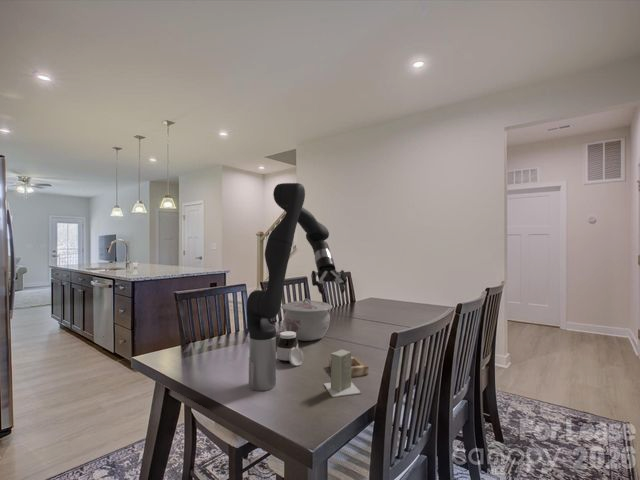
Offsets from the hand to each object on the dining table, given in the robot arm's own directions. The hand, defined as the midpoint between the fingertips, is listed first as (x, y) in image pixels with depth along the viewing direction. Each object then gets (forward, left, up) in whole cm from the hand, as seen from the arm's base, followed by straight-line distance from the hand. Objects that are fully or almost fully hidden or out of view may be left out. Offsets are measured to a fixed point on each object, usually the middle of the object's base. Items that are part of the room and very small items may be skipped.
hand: (332, 292), depth 130 cm
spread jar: (-14, +13, -31) cm, 36 cm away
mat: (-2, -17, -31) cm, 35 cm away
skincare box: (-2, -16, -30) cm, 35 cm away
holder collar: (+6, -2, -31) cm, 31 cm away
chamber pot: (+1, +46, -31) cm, 56 cm away
